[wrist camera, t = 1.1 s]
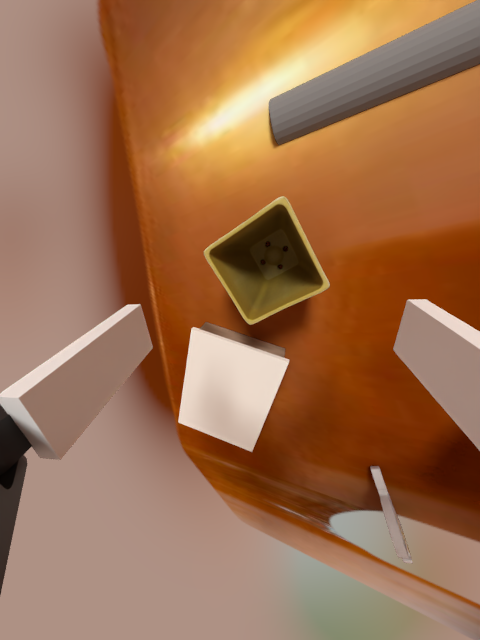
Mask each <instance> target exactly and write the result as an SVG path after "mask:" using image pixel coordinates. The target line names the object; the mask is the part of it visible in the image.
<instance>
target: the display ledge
mask: <svg viewBox="0 0 480 640" xmlns="http://www.w3.org/2000/svg"><path fill="white" fill-rule="evenodd" d="M284 355H285V348H282V347H279V346H276V345H273V344H270V343H267V342H264V341H261V340H258V339H255V338H252V337H249V336H246V335H243V334H240V333H237V332H234V331H231V330H228V329H225V328H222V327H219V326H217V325H214V324H211V323H208V322H205V323H204V325H203V326H202V327H201V328H200V329H198V328H195V327H193V328H192V329H191V336H190V343H189V350H188V357H187V364H186V371H185V378H184V385H183V392H182V400H181V407H180V414H179V421H178V422H179V423H181V424H184V425H186V426H189V427H191V428H194V429H196V430H199V431H201V432H204V433H206V434H209V435H211V436H214V437H216V438H218V439H221V440H223V441H226V442H228V443H231V444H233V445H236V446H238V447H241V448H243V449H246V450H248V451H251V452H252V451H253V449H254V446H255V444H256V441H257V439H258V436H259V434H260V432H261V429H262V427H263V424H264V422H265V419H266V417H267V415H268V412H269V410H270V407H271V405H272V402H273V400H274V398H275V395H276V393H277V390H278V388H279V385H280V383H281V381H282V378H283V376H284V373H285V371H286V368H287V366H288V364H289V359H286V358H284Z"/></svg>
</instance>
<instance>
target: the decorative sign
mask: <svg viewBox="0 0 480 640" xmlns="http://www.w3.org/2000/svg"><path fill="white" fill-rule="evenodd" d="M370 468H371V472H372V475H373V478H374V481H375V484H376V487H377V490H378V493H379V496H380V500H381V504H382V508H383V512H384V515H385V518H386V522H387V525H388V529H389V532H390V535H391V538H392V541H393V545H394V547H395V550H396V553H397V555H398V557H399V558H402V559H403V562H405V563H413V562H412V559H411V555H410V551H409V548H408V545H407V542H406V539H405V536H404V533H403V530H402V527H401V524H400V522H399V519H398V516H397V514H396V512H395V509H394V507H393V504H392V501H391V499H390V496H389V493H388V491H387V488H386V485H385V482H384V479H383V476H382V473H381V470H380V468H379V466H370Z"/></svg>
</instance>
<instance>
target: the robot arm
mask: <svg viewBox="0 0 480 640" xmlns="http://www.w3.org/2000/svg"><path fill="white" fill-rule="evenodd" d="M152 348H153V347H152V343H151V339H150V336H149V332H148V329H147V325H146V322H145V318H144V314H143V311H142V308H141V305H140V304H139V305H126V306H125V307H123V308H122V309H121V310H119V311H118V312H116V313H115V314H113V315H112V316H111V317H109V318H108V319H106V320H105V321H103V322H102V323H100V324H99V325H98V326H96V327H95V328H93V329H92V330H90V331H89V332H87V333H86V334H85V335H83V336H82V337H80V338H79V339H78V340H76V341H75V342H73V343H72V344H70V345H69V346H68V347H66V348H65V349H63V350H62V351H60V352H59V353H57V354H56V355H54V356H53V357H52V358H50V359H49V360H47V361H46V362H44V363H43V364H42V365H40V366H39V367H37V368H36V369H34V370H33V371H31V372H30V373H29V374H27V375H26V376H24V377H23V378H21V379H20V380H18V381H17V382H16V383H14V384H13V385H11V386H10V387H9V388H7V389H6V390H4V391H3V392H1V393H0V594H1V589H2V584H3V579H4V574H5V570H6V565H7V560H8V555H9V550H10V545H11V540H12V535H13V530H14V526H15V520H16V516H17V511H18V506H19V501H20V496H21V491H22V487H23V482H24V477H25V472H26V467H27V459H26V457H25V456H24V453H25V452H26V451H27V450H28V449H29V448H30V447H31V446H32V447H33V449H34V450H35V451H36V453H37V454H38V456H39V457H40V458H46V459H59V460H61V459H62V457H63V456H64V455H65V454H66V452H67V451H68V450H69V449H70V448H71V446H72V445H73V444H74V443H75V442H76V440H77V439H78V438H79V437H80V435H81V434H82V433H83V432H84V431H85V429H86V428H87V427H88V426H89V425H90V423H91V422H92V421H93V420H94V418H95V417H96V416H97V415H98V414H99V412H100V411H101V410H102V409H103V408H104V406H105V405H106V404H107V403H108V401H109V400H110V399H111V398H112V397H113V395H114V394H115V393H116V392H117V391H118V389H119V388H120V387H121V386H122V384H123V383H124V382H125V381H126V380H127V378H128V377H129V376H130V375H131V373H132V372H133V371H134V370H135V369H136V367H137V366H138V365H139V364H140V363H141V361H142V360H143V359H144V358H145V357H146V355H147V354H148V353H149V352H150V350H151V349H152ZM393 350H394V351H395V353H396V354H397V355H398V356H399V357H400V358H401V360H402V361H403V362H404V363H405V364H406V365H407V367H408V368H409V369H410V370H411V371H412V372H413V374H414V375H415V376H416V377H417V378H418V379H419V381H420V382H421V383H422V384H423V385H424V386H425V388H426V389H427V390H428V391H429V392H430V393H431V395H432V396H433V397H434V398H435V399H436V400H437V402H438V403H439V404H440V405H441V406H442V407H443V409H444V410H445V411H446V412H447V413H448V414H449V416H450V417H451V418H452V419H453V420H454V421H455V423H456V424H457V425H458V426H459V427H460V428H461V430H462V431H463V432H464V433H465V434H466V435H467V437H468V438H469V439H470V440H471V441H472V442H473V444H474V445H475V446H476V447H477V448H478V449H479V451H480V332H479V331H478V330H476V329H474V328H473V327H471V326H469V325H468V324H466V323H464V322H463V321H461V320H459V319H458V318H456V317H454V316H453V315H451V314H449V313H448V312H446V311H444V310H443V309H441V308H439V307H438V306H436V305H434V304H433V303H431V302H429V301H428V300H426V299H421V300H407V303H406V306H405V310H404V313H403V317H402V320H401V324H400V328H399V331H398V335H397V338H396V342H395V345H394V349H393Z"/></svg>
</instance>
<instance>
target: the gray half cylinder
mask: <svg viewBox="0 0 480 640" xmlns="http://www.w3.org/2000/svg"><path fill="white" fill-rule="evenodd" d="M478 64H480V0H476V1H474V2H472V3H470V4H468V5H466V6H464V7H462V8H460V9H458V10H456V11H454V12H451V13H449V14H447V15H445V16H443V17H441V18H439V19H437V20H435V21H433V22H431V23H429V24H426V25H424V26H422V27H420V28H418V29H416V30H414V31H412V32H410V33H408V34H406V35H404V36H401V37H399V38H397V39H395V40H393V41H391V42H389V43H387V44H385V45H383V46H381V47H379V48H376V49H374V50H372V51H370V52H368V53H366V54H364V55H362V56H360V57H358V58H356V59H354V60H351V61H349V62H347V63H345V64H343V65H341V66H339V67H337V68H335V69H333V70H331V71H329V72H327V73H324V74H322V75H320V76H318V77H316V78H314V79H312V80H310V81H308V82H306V83H304V84H302V85H299V86H297V87H295V88H293V89H291V90H289V91H287V92H285V93H283V94H281V95H279V96H277V97H274V98H272V99H270V101H269V114H270V120H271V125H272V130H273V134H274V137H275V140H276V142H277V143H278V145H281V144H283V143H285V142H288V141H290V140H293V139H295V138H298V137H300V136H303V135H305V134H308V133H310V132H313V131H315V130H318V129H320V128H322V127H325V126H327V125H330V124H332V123H335V122H337V121H340V120H342V119H345V118H347V117H350V116H352V115H355V114H357V113H359V112H362V111H364V110H367V109H369V108H372V107H374V106H377V105H379V104H382V103H384V102H387V101H389V100H392V99H394V98H397V97H399V96H401V95H404V94H406V93H409V92H411V91H414V90H416V89H419V88H421V87H424V86H426V85H429V84H431V83H434V82H436V81H438V80H441V79H443V78H446V77H448V76H451V75H453V74H456V73H458V72H461V71H463V70H466V69H468V68H471V67H473V66H475V65H478Z"/></svg>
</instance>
